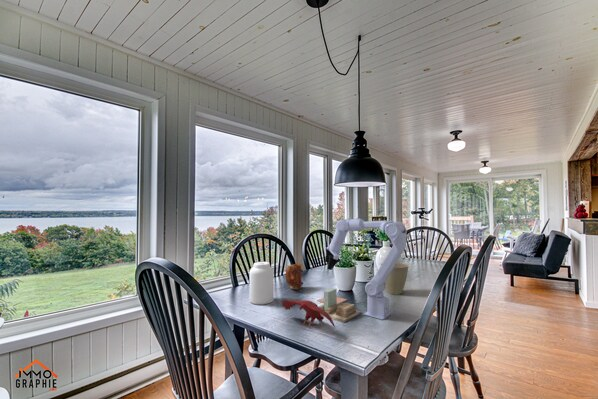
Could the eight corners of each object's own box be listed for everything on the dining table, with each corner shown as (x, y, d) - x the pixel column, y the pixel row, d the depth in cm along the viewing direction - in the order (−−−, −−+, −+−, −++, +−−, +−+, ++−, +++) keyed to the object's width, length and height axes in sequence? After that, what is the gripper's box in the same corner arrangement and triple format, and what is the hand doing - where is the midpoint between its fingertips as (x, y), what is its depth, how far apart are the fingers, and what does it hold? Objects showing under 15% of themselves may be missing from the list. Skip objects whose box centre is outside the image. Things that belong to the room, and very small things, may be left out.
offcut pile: (355, 312, 135) (355, 304, 135) (345, 317, 128) (345, 309, 128) (346, 309, 138) (346, 302, 138) (335, 315, 132) (335, 307, 132)
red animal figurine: (290, 324, 134) (272, 305, 127) (300, 307, 139) (284, 287, 132) (339, 345, 114) (322, 324, 107) (349, 324, 119) (333, 302, 112)
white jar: (244, 302, 152) (244, 263, 152) (258, 296, 163) (258, 259, 163) (264, 306, 146) (264, 266, 146) (278, 299, 157) (278, 261, 157)
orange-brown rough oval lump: (294, 285, 183) (294, 261, 183) (305, 287, 179) (305, 262, 179) (280, 291, 170) (280, 265, 171) (292, 294, 166) (292, 267, 166)
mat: (346, 300, 154) (346, 299, 154) (334, 306, 146) (334, 304, 146) (329, 296, 162) (329, 295, 162) (317, 301, 153) (317, 300, 153)
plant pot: (412, 296, 160) (412, 267, 161) (385, 296, 161) (384, 267, 161) (403, 289, 175) (403, 262, 176) (378, 289, 176) (378, 262, 176)
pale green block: (336, 307, 141) (336, 288, 141) (328, 311, 135) (328, 292, 136) (332, 306, 142) (332, 288, 142) (323, 310, 137) (323, 291, 137)
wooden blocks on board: (360, 313, 136) (360, 306, 136) (344, 322, 126) (344, 315, 126) (331, 305, 147) (331, 299, 147) (314, 313, 136) (314, 306, 136)
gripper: (327, 234, 153) (318, 257, 156) (332, 245, 139) (322, 270, 142) (340, 238, 154) (331, 260, 157) (346, 249, 140) (336, 274, 143)
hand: (328, 265), depth 150 cm, fingers open, 7 cm apart
